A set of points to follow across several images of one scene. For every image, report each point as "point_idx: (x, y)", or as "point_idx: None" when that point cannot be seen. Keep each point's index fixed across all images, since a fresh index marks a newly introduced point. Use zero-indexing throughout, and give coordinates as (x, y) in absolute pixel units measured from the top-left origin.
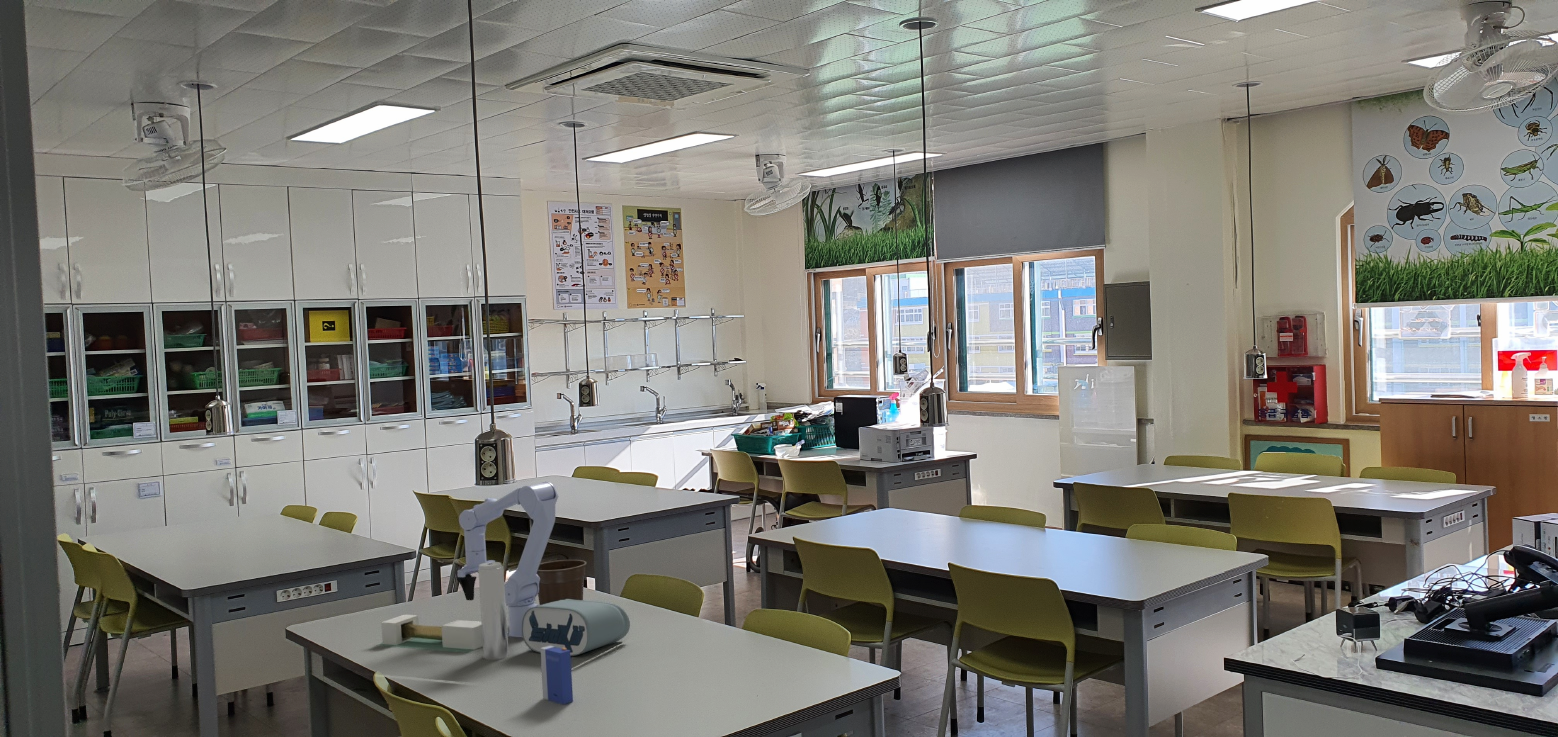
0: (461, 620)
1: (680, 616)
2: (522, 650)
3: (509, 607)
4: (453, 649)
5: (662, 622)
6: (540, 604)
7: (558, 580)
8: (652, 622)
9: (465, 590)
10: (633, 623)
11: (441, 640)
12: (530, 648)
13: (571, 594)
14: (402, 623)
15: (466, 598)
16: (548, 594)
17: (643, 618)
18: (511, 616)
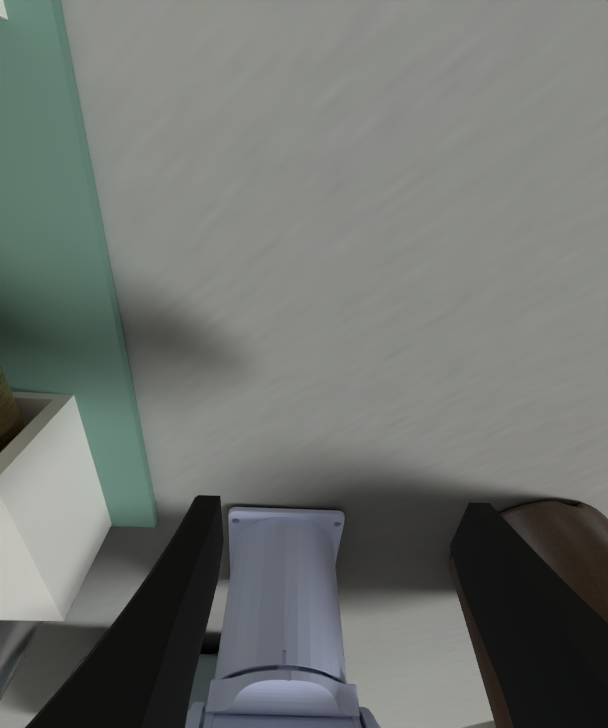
0: (4, 511)
1: (489, 716)
2: (118, 608)
3: (219, 671)
4: None
5: (436, 710)
6: None
7: None
8: (438, 701)
9: (155, 605)
10: (431, 684)
11: (33, 299)
12: (85, 657)
13: None
14: None
15: (189, 512)
16: (495, 695)
17: (481, 684)
18: (223, 625)
